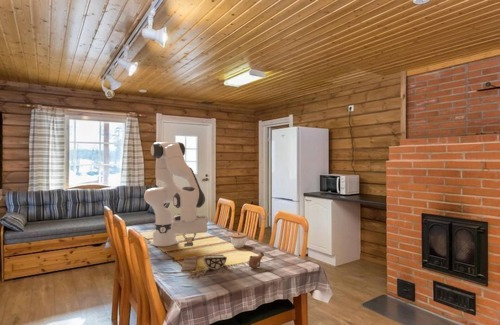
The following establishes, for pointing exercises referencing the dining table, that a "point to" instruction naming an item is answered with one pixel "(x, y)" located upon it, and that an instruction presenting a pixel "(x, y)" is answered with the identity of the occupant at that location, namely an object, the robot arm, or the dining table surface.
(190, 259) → the wooden board
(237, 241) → the lidded jar
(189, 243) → the turner
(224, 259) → the food container
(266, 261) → the dining table surface
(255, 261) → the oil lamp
